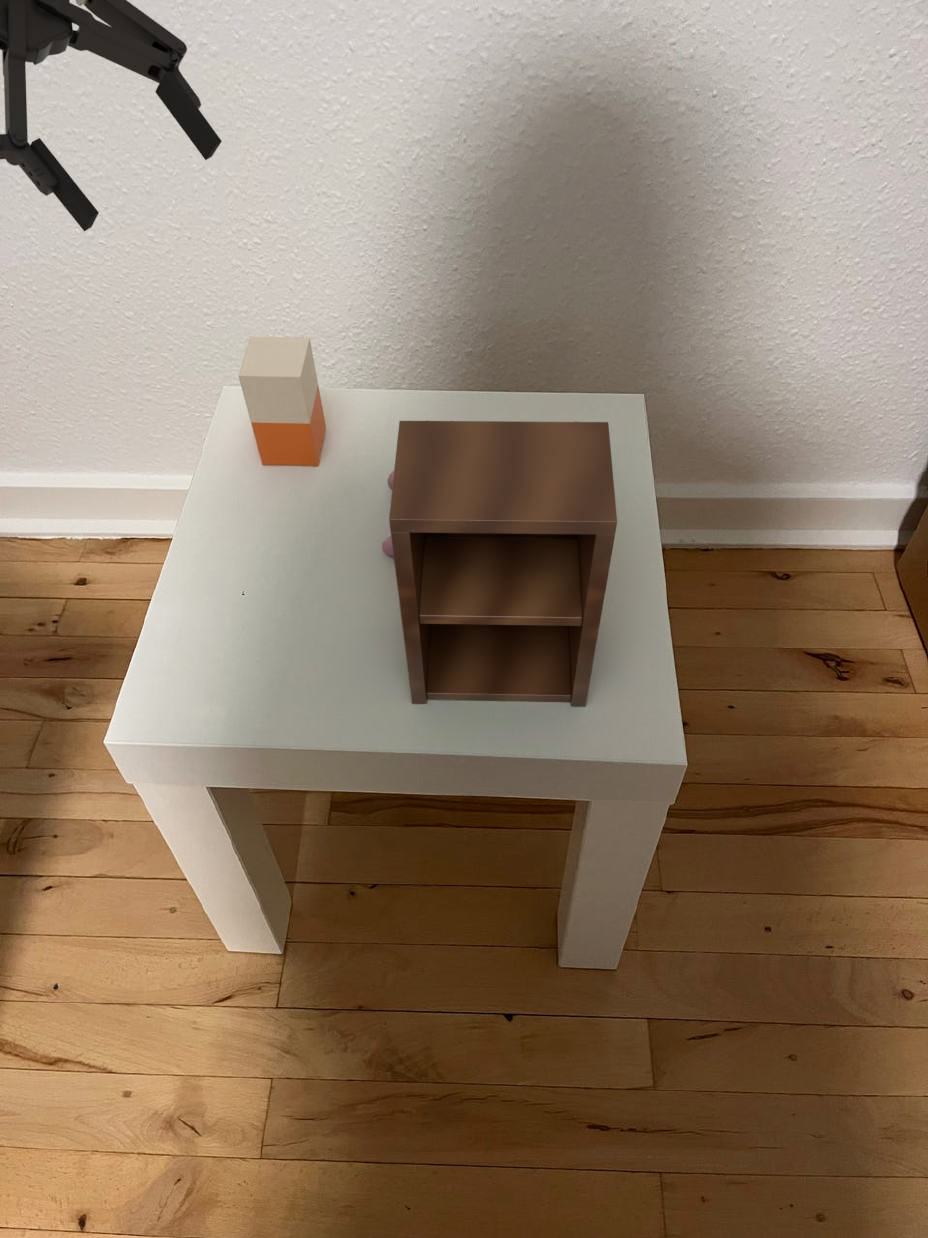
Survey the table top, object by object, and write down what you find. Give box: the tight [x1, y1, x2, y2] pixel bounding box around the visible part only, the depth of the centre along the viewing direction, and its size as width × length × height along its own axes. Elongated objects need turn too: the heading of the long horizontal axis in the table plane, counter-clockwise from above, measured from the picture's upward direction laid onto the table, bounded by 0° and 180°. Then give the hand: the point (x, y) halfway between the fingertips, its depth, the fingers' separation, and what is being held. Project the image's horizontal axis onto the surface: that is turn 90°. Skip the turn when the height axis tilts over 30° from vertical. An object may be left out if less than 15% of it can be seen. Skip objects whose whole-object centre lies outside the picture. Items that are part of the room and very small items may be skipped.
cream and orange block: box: [238, 336, 327, 467], centre depth 88 cm, size 6×6×11 cm
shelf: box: [388, 420, 618, 708], centre depth 68 cm, size 14×9×22 cm, turn 88°
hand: (155, 185), depth 77 cm, fingers open, 13 cm apart
